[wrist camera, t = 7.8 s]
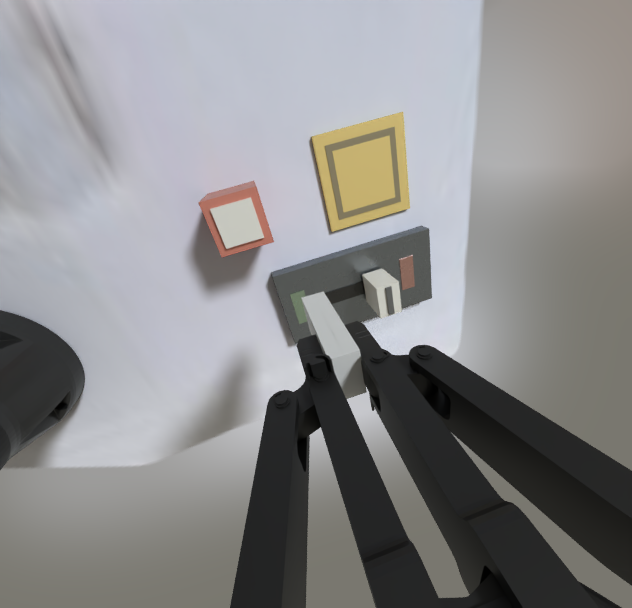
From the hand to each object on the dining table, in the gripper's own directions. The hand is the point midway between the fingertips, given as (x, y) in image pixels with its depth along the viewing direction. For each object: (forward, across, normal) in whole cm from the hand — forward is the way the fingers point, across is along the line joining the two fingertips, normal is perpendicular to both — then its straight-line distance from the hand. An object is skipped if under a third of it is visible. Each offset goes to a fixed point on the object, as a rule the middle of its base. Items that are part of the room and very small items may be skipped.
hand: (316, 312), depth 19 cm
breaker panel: (+14, +7, -6) cm, 16 cm away
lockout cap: (+14, -4, +5) cm, 15 cm away
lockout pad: (+14, +10, +6) cm, 18 cm away
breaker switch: (+12, +9, -6) cm, 16 cm away
